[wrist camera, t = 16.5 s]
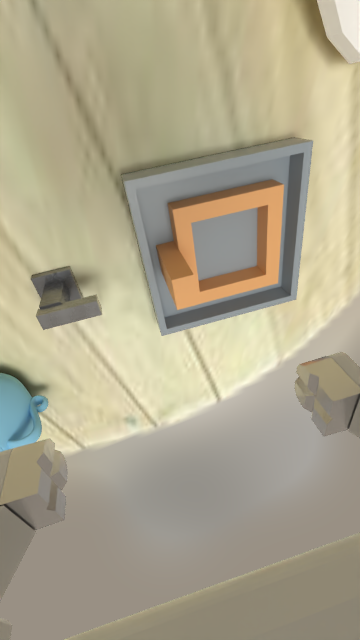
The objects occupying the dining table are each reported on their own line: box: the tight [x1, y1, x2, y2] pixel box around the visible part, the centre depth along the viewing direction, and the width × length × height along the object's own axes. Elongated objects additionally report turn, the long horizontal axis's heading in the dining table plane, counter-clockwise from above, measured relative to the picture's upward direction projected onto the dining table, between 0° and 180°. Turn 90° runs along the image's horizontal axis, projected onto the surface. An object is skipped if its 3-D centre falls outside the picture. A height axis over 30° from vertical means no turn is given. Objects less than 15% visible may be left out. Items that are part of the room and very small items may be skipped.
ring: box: [156, 179, 284, 310], centre depth 38 cm, size 16×14×10 cm
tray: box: [121, 137, 313, 336], centre depth 42 cm, size 22×22×4 cm
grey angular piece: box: [31, 266, 102, 330], centre depth 38 cm, size 5×8×8 cm, turn 98°
